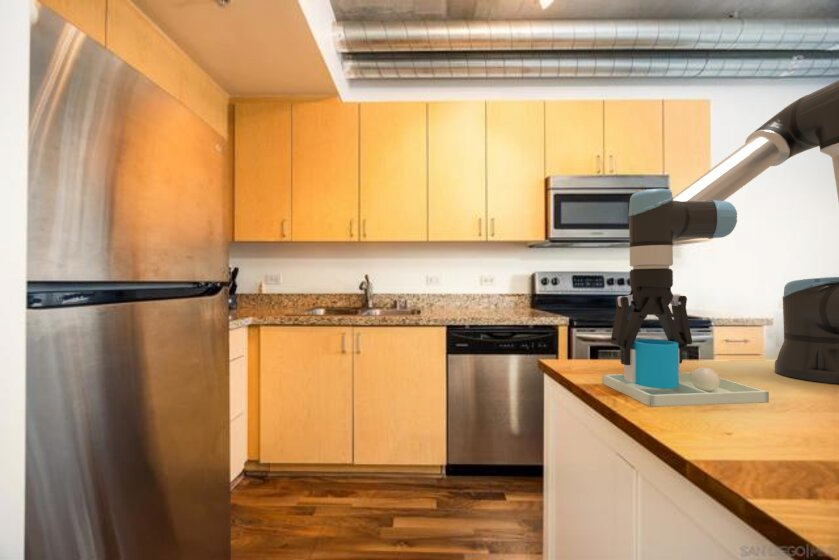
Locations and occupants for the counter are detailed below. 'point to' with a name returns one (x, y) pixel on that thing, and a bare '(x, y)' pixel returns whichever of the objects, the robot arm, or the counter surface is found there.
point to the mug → (657, 363)
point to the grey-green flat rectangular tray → (687, 392)
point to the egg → (705, 379)
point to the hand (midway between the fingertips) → (651, 380)
